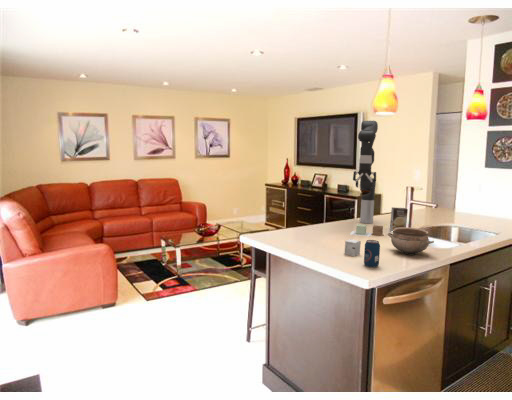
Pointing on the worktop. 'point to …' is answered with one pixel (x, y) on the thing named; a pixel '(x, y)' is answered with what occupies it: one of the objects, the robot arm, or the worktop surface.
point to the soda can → (371, 253)
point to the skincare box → (352, 247)
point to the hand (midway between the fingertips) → (364, 187)
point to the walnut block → (377, 230)
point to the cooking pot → (410, 240)
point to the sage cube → (361, 229)
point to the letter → (359, 234)
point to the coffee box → (398, 218)
